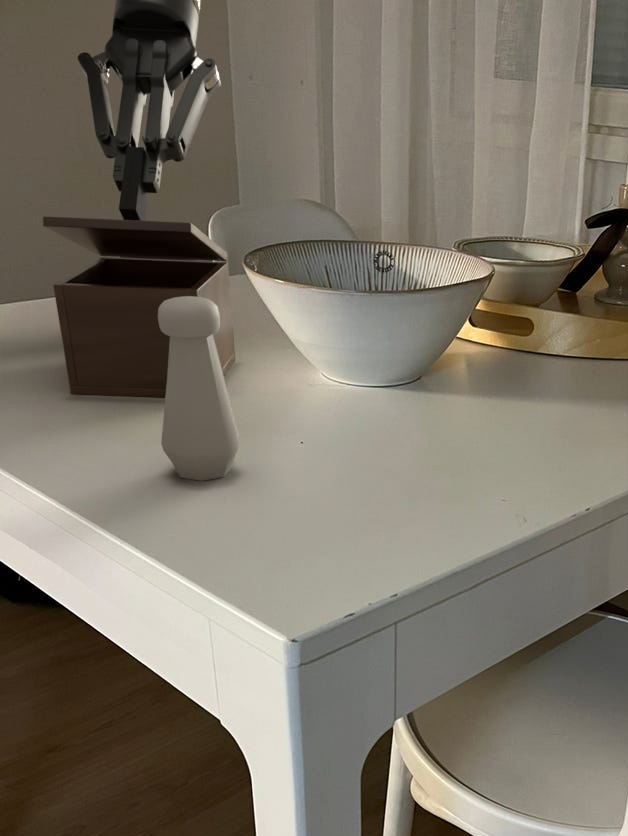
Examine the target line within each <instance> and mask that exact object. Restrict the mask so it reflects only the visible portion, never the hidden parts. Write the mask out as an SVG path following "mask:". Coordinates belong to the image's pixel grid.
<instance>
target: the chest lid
mask: <svg viewBox="0 0 628 836" xmlns="http://www.w3.org/2000/svg"><path fill="white" fill-rule="evenodd" d="M42 226H43V227H44V228H46V229H49V231H52V232H54V233H56V234H58V235H60V236H62V237H64V238H66V239H67V240H69V241H71V242H72V243H75V244H76V245H79V246H81V247H82V248H85V249H86V250H88V251H90V252H92V253H94V254H96V255H97V256H99V257H117V258H120V257H135V258H159V259H183V260H197V261H213V262H228V252H227V251H225V250H224V249H223V248H222V247H220V245H218V244H217V243H216V242H215V241H213V240H212V239H211V238H210V237H208V236H207V235H206V234H205V233H204V232H203V231H201V230H200V229H199V228H198V227H196V225H194V224H193V223H192V222H185V221H184V222H182V221H162V220H161V221H159V220H158V221H157V220H145V221H139V220H124V219H112V218H111V219H110V218H93V217H92V218H91V217H90V218H88V217H68V216H67V217H66V216H45V215H44V216H42Z"/></svg>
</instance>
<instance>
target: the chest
mask: <svg viewBox="0 0 628 836" xmlns="http://www.w3.org/2000/svg"><path fill="white" fill-rule="evenodd" d="M229 273H230V272H229V262H228V261H207V260H197V261H189V260H165V259H141V258H120V257H111V256H99V257H98V258H97V259H95V260H93V261H91V262H90V263H88V264H86V265H84V266H83V267H80V269H78V270H76V271H74V272H73V273H71V274H69V275H67V276H66V277H64V278H62V279H60V280H59V281H57V282H56V283H54V284H53V293H54V298H55V299H54V300H55V304H56V310H57V316H58V317H57V318H58V323H59V330H60V335H61V341H62V347H63V353H64V361H65V366H66V372H67V378H68V384H69V392H70V394H71V395H88V396H89V395H90V396H91V395H92V396H93V395H94V396H114V397H115V396H117V397H118V396H119V397H144V398H146V397H147V398H165V397H166V386H167V374H168V359H169V344H170V336H168V335H166V334H164V333H163V332H162V331H161V329H160V327H159V322H158V308H159V306H160V305H161V304H162V303H163V302H164V301H165V300H168V299H171V298H175V297H184V296H193V297H201V298H205V299H209V300H211V301H212V302H213V303H214V304H215V305H216V306H217V307H218V311H219V315H220V327H219V330H218V332H217V333H215V334H213V337H214V341H215V345H216V349H217V353H218V357H219V361H220V364H221V368H222V372H223V376H224V377H225V375H226V374H227V372H228V371H229V369H230V368H231V367H232V366H233V364H235V361H236V351H235V350H236V348H235V337H234V335H235V334H234V324H233V311H232V298H231V297H232V296H231V284H230V274H229Z"/></svg>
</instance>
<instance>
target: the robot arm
mask: <svg viewBox="0 0 628 836" xmlns="http://www.w3.org/2000/svg"><path fill="white" fill-rule="evenodd" d="M201 4H202V0H115V5H114V12H113V19H112V32H111V35H110V38H109V39H108V40H107V41H106V43H105V45H104V51H103V52H100V53H98V54H97V55H95V56H92V55H91V54H90V53H89V52H87V51H85V52H81V53H79V54H78V56H77V61H78V64H79V65H80V68H81V70H82V72H83V75H84V77H85V79H86V81H87V84H88V90H89V98H90V105H91V111H92V112H91V113H92V118H93V125H94V132H95V137H96V139H97V142H98V144H99V145H100V148H101V151H102V152H103V154H104V157H105V158H107V159H109V160H111V159H114V164H113V171H112V178H113V182H114V184H115V185H116V188H117V190H118V192H120V197H119V203H118V211H119V212H120V215H121V217H122V220H139V221H146V220H147V219H146V218H147V209H148V201H149V195H150V194H158V192H159V191H160V188H161V179H162V171H163V165H164V164H165V163H167V162H169V161H171V160H173V161H174V162H176V163H180V162H182V161H183V160H185V158H186V156H187V153H188V150H189V148H190V145H191V143H192V141H193V138H194V136H195V133H196V131H197V129H198V126H199V124H200V121H201V119H202V116H203V113H204V111H205V109H206V106H207V105H208V101H209V99H211V97H213V95H214V94H215V93H216V92H217V91H218V90H219V88H221V86H222V82H221V78H220V74H219V70H218V67H217V63H216V61H215V60H214V59H212V58H206V59H204V60H203V59H202V58H200V57H199V56H198V55H197V54H198V53H197V40H198V39H197V38H198V30H199V19H200V13H201V12H200V11H201ZM111 68H112V70H113V71H114V72H115V74H116V75H117V76H118V78H119V79H120V80H121V82H122V87H121V88H122V89H121V96H120V103H119V110H118V118H117V125H116V132H115V128H114V120H113V115H112V107H111V101H110V96H109V95H110V94H109V91H108V89H107V86H106V85H107V84H109V78H110V70H111ZM186 80H187V83H186V85H185V88H184V90H183V92H182V95H181V97H180V100H179V101H178V104H177V107H176V109H175V112H174V114H173V116H172V119H171V117H170V116H171V111H172V108H173V106H174V101H175V99H174V98H175V91H176V90H177V89H178V88H179V87H181V85H182V84H184V83H185V81H186ZM148 94H149V99H148V100H149V101H148V109H147V115H146V126H145V134H144V136H141V135H140V134H141V126H142V119H143V113H144V107H145V106H146V104H147V95H148ZM170 119H171V121H170ZM140 136H141V140H142V141H143V144H144V147H141V146H139V142H140Z"/></svg>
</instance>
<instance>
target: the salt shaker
mask: <svg viewBox="0 0 628 836" xmlns="http://www.w3.org/2000/svg"><path fill="white" fill-rule="evenodd" d="M158 322H159V327H160V329H161V331H162V332H163V333H164V334H166V335H168V336H170V344H169V359H168V374H167V386H166V397H164V409H163V420H162V430H161V441H160V445H161V447H162V450H163V452H164V453H165V455H166V456H167V458H168V459H169V460H170V463H172V465H173V467H174V469H175V470H176V472H177V474H178V476H179V477H180V478H182V479H189V480H195V481H199V482H202V481H208V480H214V479H220V478H224V477H225V476H227V474H228V473H229V472H230V471H231V470H232V468H233V464H234V461H235V459H236V454H237V452H238V450H239V445H240V436H239V431H238V427H237V423H236V419H235V415H234V411H233V408H232V404H231V400H230V395H229V391H228V388H227V384H226V380H225V375H224V376H223V372H222V368H221V364H220V361H219V357H218V353H217V349H216V345H215V341H214V337H213V334H215V333H217V332H218V330H219V327H220V315H219V311H218V307H217V306H216V305H215V304H214V303H213V302H212V301H211V300H209V299H205V298H201V297H193V296H184V297H175V298H171V299H168V300H165V301H164V302H163V303H162V304H161V305H160V306H159V308H158Z"/></svg>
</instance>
